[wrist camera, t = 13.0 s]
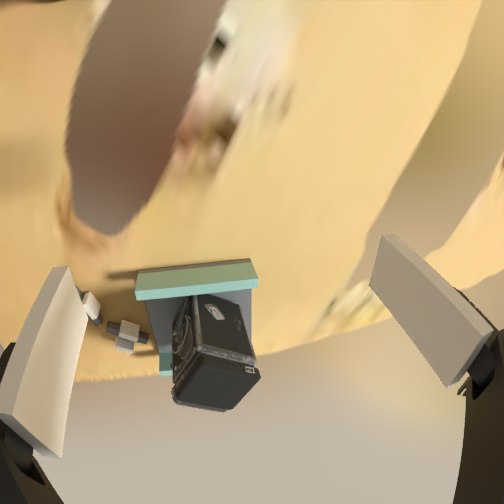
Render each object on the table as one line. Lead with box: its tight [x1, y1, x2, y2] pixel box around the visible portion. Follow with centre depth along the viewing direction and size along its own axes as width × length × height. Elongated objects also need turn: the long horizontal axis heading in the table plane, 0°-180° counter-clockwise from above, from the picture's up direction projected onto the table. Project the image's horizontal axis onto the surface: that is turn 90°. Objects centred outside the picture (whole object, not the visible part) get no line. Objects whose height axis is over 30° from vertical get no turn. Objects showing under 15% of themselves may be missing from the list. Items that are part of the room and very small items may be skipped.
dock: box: [135, 259, 258, 376], centre depth 44 cm, size 18×16×5 cm
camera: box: [170, 294, 261, 412], centre depth 39 cm, size 10×10×15 cm
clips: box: [82, 291, 140, 354], centre depth 41 cm, size 13×5×3 cm, turn 40°
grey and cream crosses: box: [75, 285, 148, 344], centre depth 42 cm, size 16×4×1 cm, turn 39°
